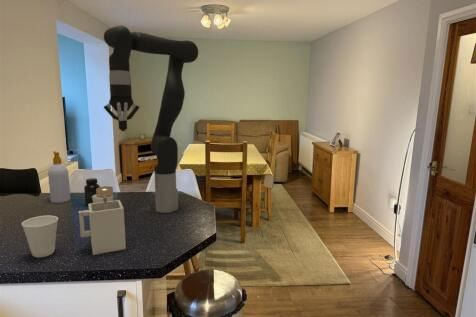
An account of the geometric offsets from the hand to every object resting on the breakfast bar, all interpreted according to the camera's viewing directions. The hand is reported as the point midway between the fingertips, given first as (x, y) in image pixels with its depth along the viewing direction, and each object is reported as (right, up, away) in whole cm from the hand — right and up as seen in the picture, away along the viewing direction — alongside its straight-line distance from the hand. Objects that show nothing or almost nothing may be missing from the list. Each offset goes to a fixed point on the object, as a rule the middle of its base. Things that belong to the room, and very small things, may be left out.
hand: (123, 130), depth 123 cm
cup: (-19, -41, -19) cm, 49 cm away
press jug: (-2, -40, -14) cm, 42 cm away
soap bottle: (-43, -31, +36) cm, 64 cm away
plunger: (0, -39, -14) cm, 41 cm away
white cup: (-12, -36, +12) cm, 39 cm away
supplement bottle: (-25, -32, +31) cm, 51 cm away
